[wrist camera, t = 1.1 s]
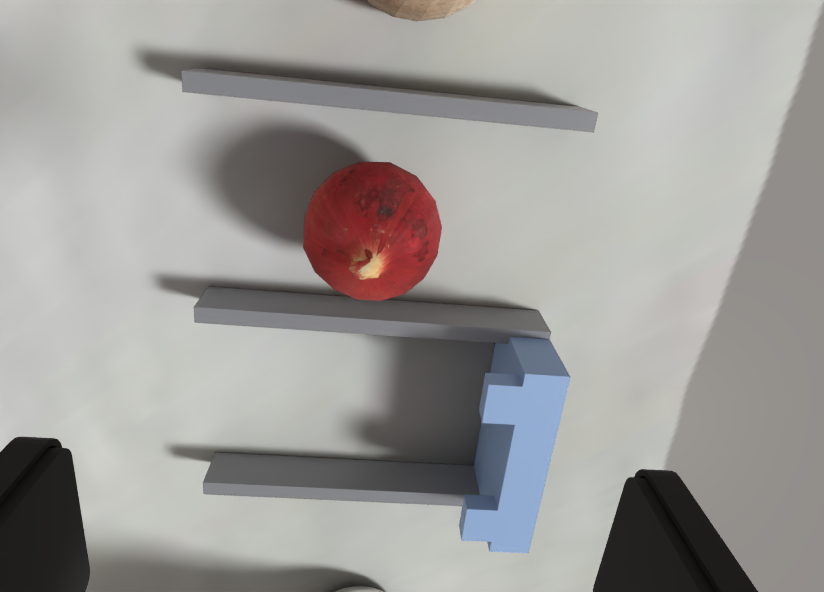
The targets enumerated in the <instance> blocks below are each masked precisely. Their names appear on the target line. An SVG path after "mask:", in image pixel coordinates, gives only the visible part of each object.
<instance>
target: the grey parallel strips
mask: <svg viewBox="0 0 824 592" xmlns="http://www.w3.org/2000/svg"><path fill="white" fill-rule="evenodd" d="M181 72H182V91H183V92H188V93H199V94H209V95H219V96H229V97H239V98H249V99H260V100H270V101H280V102H290V103H300V104H310V105H321V106H331V107H341V108H351V109H361V110H371V111H382V112H392V113H402V114H412V115H422V116H432V117H443V118H453V119H463V120H473V121H483V122H493V123H504V124H514V125H524V126H534V127H544V128H554V129H565V130H575V131H585V132H594V130H595V125H596V121H597V116H598V113H597V112H594V111H591V110H588V109H585V108H582V107H577V106H567V105H557V104H547V103H537V102H528V101H518V100H508V99H498V98H488V97H478V96H469V95H459V94H449V93H439V92H429V91H419V90H410V89H400V88H390V87H380V86H370V85H360V84H351V83H341V82H331V81H321V80H311V79H301V78H292V77H282V76H272V75H262V74H252V73H242V72H232V71H223V70H213V69H203V68H197V69H190V70H183V71H181ZM194 321H195V323H208V324H223V325H238V326H252V327H267V328H282V329H296V330H311V331H325V332H340V333H355V334H369V335H384V336H399V337H413V338H428V339H443V340H457V341H472V342H486V343H501V344H508V342H509V337H521V338H535V339H550V335H551V331H550V330H549V328H548V326H547V324H546V323H545V321H544V319H543V317H542V316H541V314H540V312H539V311H536V310H522V309H509V308H495V307H481V306H468V305H454V304H440V303H427V302H413V301H399V300H382V301H375V300H358V299H354V298H352V297H345V296H331V295H317V294H304V293H290V292H276V291H263V290H249V289H235V288H222V287H208V288H207V290H206V291H205V292H204V294H203V295H202V296H201V298H200V299H199V301H198V302H197V303H196V305H195V306H194ZM203 493H204V494H210V495H231V496H253V497H275V498H297V499H318V500H340V501H362V502H384V503H405V504H427V505H449V506H463V500H464V495H480V493H479V488H478V483H477V478H476V474H475V469H474V466H470V465H450V464H431V463H412V462H392V461H373V460H353V459H334V458H314V457H295V456H276V455H256V454H237V453H217V452H215V455H214V457H213V459H212V462H211V464H210V467H209V469H208V471H207V474H206V476H205V479H204V481H203Z"/></svg>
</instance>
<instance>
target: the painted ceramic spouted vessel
mask: <svg viewBox="0 0 824 592" xmlns="http://www.w3.org/2000/svg"><path fill="white" fill-rule="evenodd" d="M367 1H368V2H369V3H370V4H371V5H372V6H374V7H376V8H378V9H380V10H382V11H384V12H385V13H387V14H389V15H391V16H393V17H397V18H402V19H408V20H413V21H423V20H431V19H440V18H445V17H447V16H450V15H452V14H454V13H456V12H458V11H460V10H463V9H465V8H467V7H468V6H470V5H471V4H472V3H473V2H474V1H476V0H367Z"/></svg>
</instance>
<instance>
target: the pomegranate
mask: <svg viewBox="0 0 824 592" xmlns="http://www.w3.org/2000/svg"><path fill="white" fill-rule="evenodd" d="M441 229H442V226H441V222H440V218H439V214H438V210H437V206H436V202H435V200H434V199H433V197H432V196H431V195H430V193H429V192H428V191H427V189H426V188H425V187H424V185H423V184H422V183H421V181H420V180H419V179H418V177H416V176H415V175H413V174H411V173H409V172H408V171H406V170H404V169H402V168H400V167H398V166H396V165H394V164H392V163H390V162H358V163H356V164H353V165H351V166H348V167H346V168H344V169H341V170H339V171H337V172H334V173H333V174H332V175H331V176H330V177H329V178H328V179H327V180H326V181H325V182H324V183H323V184H322V185H321V186H320V187H319V188H318V189H317V190H316V191H315V192H314V195H313V197H312V199H311V202H310V204H309V207H308V209H307V212H306V214H305V218H304V243H303V248H304V250H305V252H306V254H307V257H308V259H309V261H310V263H311V265H312V267H313V269H314V271H315V272H316V273H317V274H318V275H319V276H320V277H321V278H322V279H323V280H324V281H325V282H326V283H328V284H329V285H330V286H331V287H332V288H333V289H334V290H336V291H339V292H341V293H343V294H345V295H348V296H350V297H352V298H354V299H358V300H375V301H382V300H386V299H389V298H392V297H396V296H399V295H402V294H405V293H406V292H408V291H409V290H410V289H411V288H413V287H414V286H415V285H416V284H418V283H419V282H420V281H421V280H423V279H424V277H425V276H426V274H427V273H428V271H429V269H430V267H431V266H432V264H433V262H434V260H435V258H436V257H437V254H438V248H439V242H440V236H441Z"/></svg>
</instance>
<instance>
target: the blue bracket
mask: <svg viewBox="0 0 824 592" xmlns="http://www.w3.org/2000/svg"><path fill="white" fill-rule="evenodd" d="M569 380H570V376H569V374H568V372H567V370H566V368H565V367H564V365H563V363H562V361H561V359H560V358H559V356H558V354H557V352H556V350H555V349H554V347H553V345H552V343H551V341H550V340H549V339H535V338H521V337H509V342H508V344H501V343H495V347H494V353H493V359H492V364H491V370H490V373H485V377H484V383H483V389H482V395H481V400H480V406H479V413H480V417H481V420H482V422H481V427H480V433H479V439H478V445H477V450H476V456H475V462H474V469H475V474H476V478H477V483H478V488H479V493H480V495H464V500H463V506H462V512H461V518H460V524H459V527H460V533H461V540H462V541H487V542H488V547H489V551H491V552H516V553H529V549H530V545H531V540H532V536H533V532H534V528H535V524H536V519H537V515H538V511H539V507H540V502H541V498H542V494H543V490H544V486H545V481H546V477H547V473H548V469H549V465H550V460H551V456H552V452H553V448H554V443H555V439H556V435H557V431H558V427H559V422H560V418H561V414H562V410H563V405H564V401H565V397H566V393H567V389H568V384H569Z"/></svg>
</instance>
